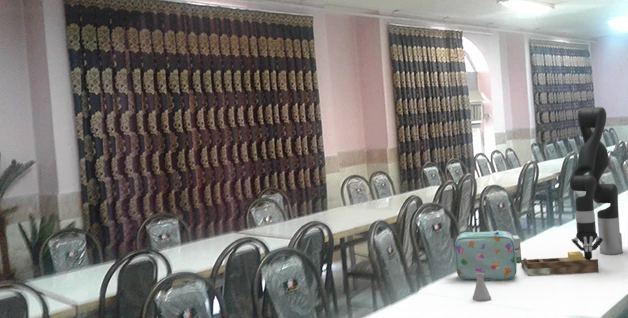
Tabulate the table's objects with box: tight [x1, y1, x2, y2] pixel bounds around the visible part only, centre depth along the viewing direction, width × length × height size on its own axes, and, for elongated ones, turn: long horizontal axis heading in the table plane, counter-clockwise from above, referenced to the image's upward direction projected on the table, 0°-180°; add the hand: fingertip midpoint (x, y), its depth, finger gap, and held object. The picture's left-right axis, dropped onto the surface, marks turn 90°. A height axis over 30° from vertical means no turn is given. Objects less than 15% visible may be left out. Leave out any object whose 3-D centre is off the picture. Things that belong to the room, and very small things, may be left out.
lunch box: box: [454, 229, 519, 281], centre depth 263 cm, size 27×10×21 cm, turn 71°
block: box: [567, 250, 584, 261], centre depth 261 cm, size 5×5×5 cm
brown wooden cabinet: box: [520, 256, 599, 277], centre depth 267 cm, size 29×17×6 cm, turn 80°
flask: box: [472, 273, 492, 302], centre depth 235 cm, size 7×7×10 cm
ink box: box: [512, 234, 522, 264], centre depth 288 cm, size 9×5×12 cm, turn 168°
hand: (588, 259), depth 261 cm, fingers closed
